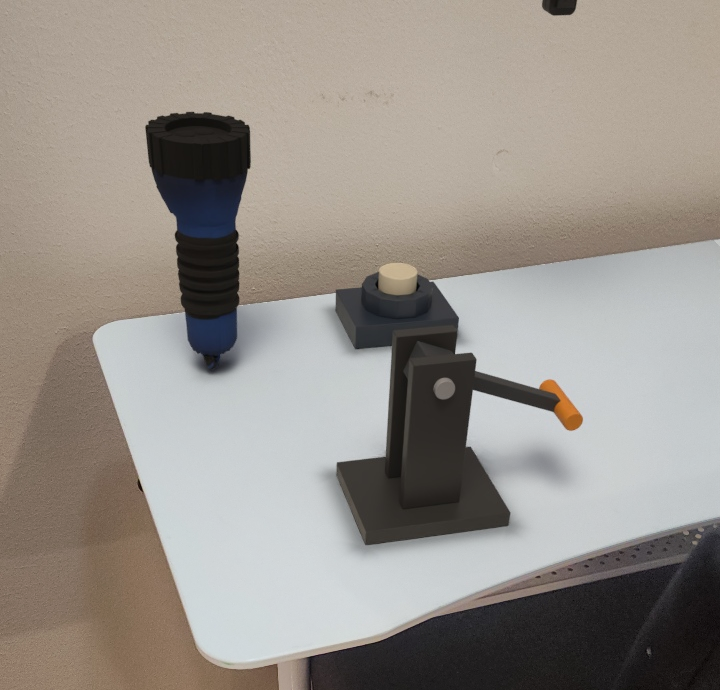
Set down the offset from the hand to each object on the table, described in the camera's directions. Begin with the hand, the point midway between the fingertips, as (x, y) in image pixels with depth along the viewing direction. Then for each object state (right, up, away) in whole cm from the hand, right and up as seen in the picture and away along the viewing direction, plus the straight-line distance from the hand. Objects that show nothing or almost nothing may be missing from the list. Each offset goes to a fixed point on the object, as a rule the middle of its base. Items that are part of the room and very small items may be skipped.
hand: (557, 12), depth 76 cm
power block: (-12, -18, +20) cm, 29 cm away
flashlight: (-28, -23, +14) cm, 39 cm away
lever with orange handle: (-6, -31, -5) cm, 32 cm away
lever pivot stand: (-11, -37, 0) cm, 39 cm away
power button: (-12, -15, +18) cm, 26 cm away
